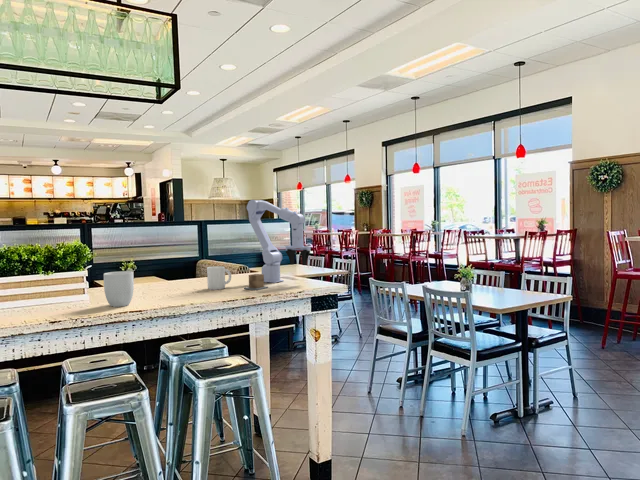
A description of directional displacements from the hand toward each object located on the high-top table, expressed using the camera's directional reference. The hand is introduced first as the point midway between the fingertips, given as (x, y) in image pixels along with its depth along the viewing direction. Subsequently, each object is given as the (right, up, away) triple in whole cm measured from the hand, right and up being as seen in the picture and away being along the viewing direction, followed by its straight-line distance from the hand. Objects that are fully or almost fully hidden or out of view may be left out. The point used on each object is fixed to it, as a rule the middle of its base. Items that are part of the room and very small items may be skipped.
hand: (298, 264), depth 245 cm
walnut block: (-19, -10, -15) cm, 26 cm away
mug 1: (-69, -14, -51) cm, 87 cm away
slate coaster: (-19, -11, -15) cm, 27 cm away
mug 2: (-37, -11, -11) cm, 40 cm away
